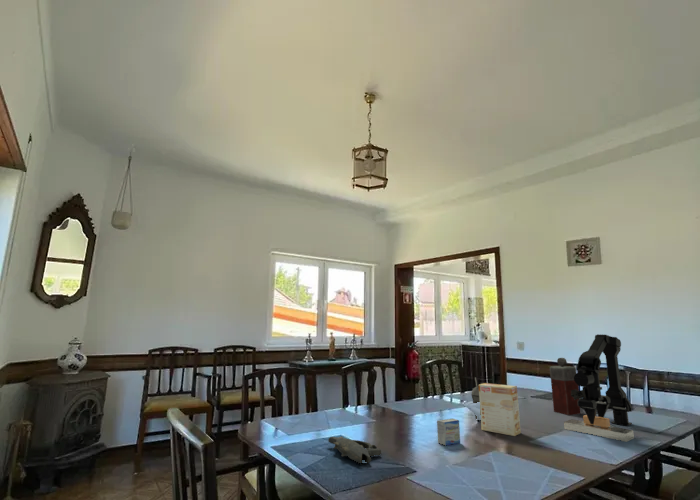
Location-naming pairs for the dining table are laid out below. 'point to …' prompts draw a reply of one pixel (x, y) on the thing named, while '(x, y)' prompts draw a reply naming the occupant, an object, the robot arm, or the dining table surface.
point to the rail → (599, 430)
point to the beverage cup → (475, 395)
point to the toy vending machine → (564, 388)
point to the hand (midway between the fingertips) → (596, 422)
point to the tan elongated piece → (355, 449)
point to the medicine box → (448, 431)
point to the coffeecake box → (499, 409)
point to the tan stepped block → (598, 421)
